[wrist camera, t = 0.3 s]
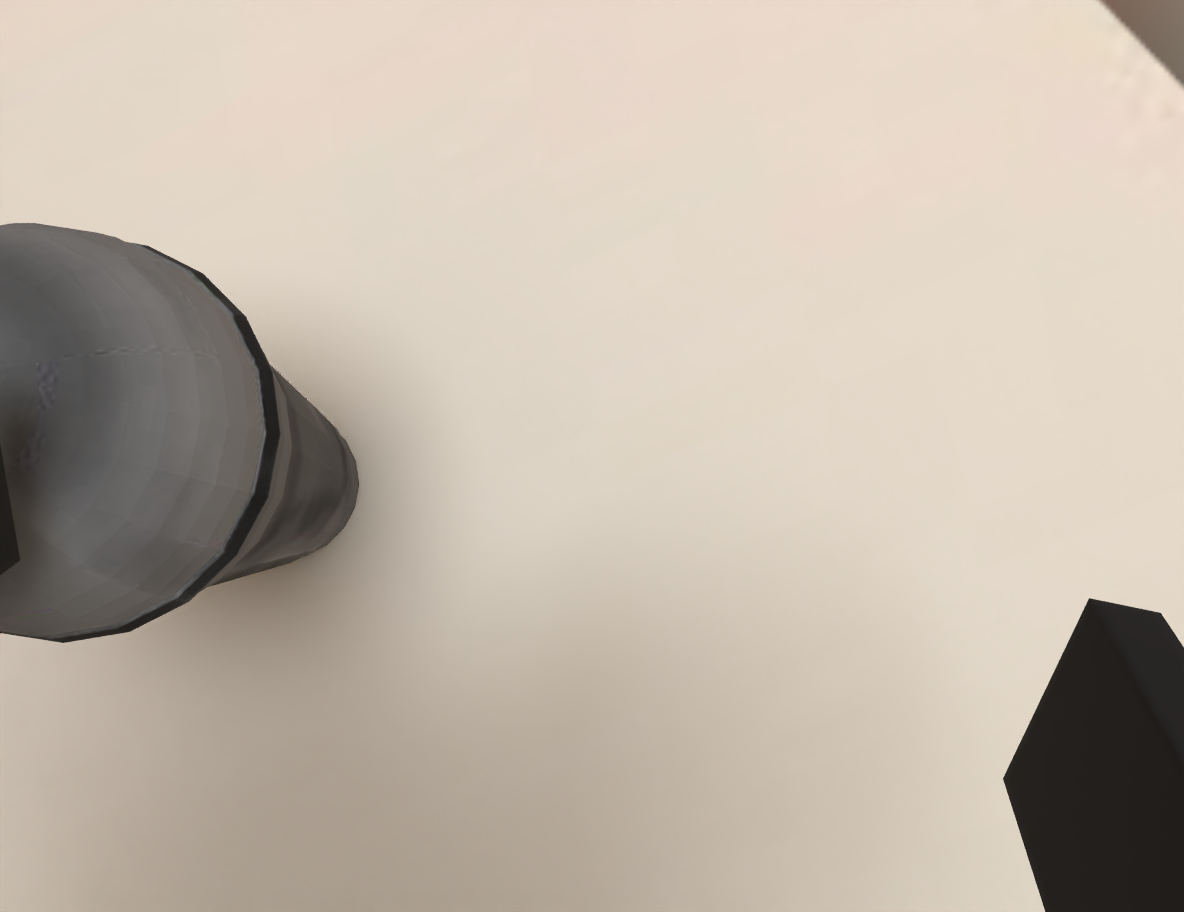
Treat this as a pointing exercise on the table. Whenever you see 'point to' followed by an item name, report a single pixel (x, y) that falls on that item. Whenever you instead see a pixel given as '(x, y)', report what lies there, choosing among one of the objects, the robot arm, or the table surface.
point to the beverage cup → (144, 438)
